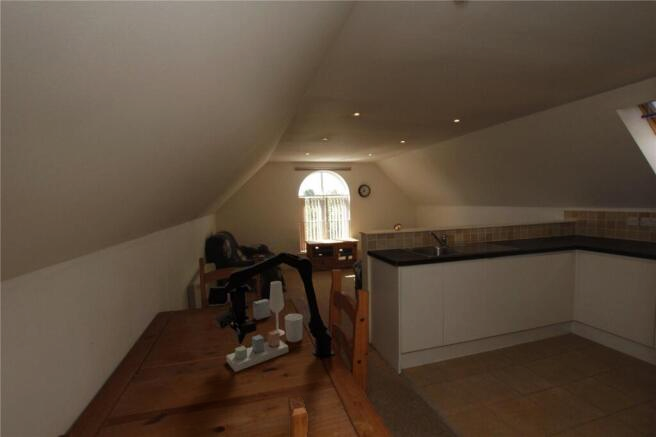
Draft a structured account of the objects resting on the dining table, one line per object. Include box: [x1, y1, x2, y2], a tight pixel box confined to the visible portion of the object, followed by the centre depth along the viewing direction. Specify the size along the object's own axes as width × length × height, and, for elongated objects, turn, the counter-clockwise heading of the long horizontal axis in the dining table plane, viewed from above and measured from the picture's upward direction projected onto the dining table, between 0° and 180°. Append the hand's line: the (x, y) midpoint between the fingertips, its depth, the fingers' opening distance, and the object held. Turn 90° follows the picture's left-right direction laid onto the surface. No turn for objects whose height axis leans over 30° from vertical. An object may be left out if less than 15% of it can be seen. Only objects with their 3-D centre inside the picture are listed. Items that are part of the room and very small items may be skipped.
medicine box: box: [252, 298, 271, 321], centre depth 157 cm, size 8×4×9 cm, turn 133°
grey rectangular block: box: [251, 334, 265, 353], centre depth 116 cm, size 3×3×5 cm
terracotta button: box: [267, 329, 281, 347], centre depth 120 cm, size 3×3×5 cm
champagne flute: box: [269, 280, 286, 337], centre depth 136 cm, size 7×7×24 cm
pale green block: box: [234, 345, 247, 360], centre depth 112 cm, size 3×3×5 cm
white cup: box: [284, 313, 304, 343], centre depth 131 cm, size 8×8×10 cm
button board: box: [226, 339, 289, 373], centre depth 116 cm, size 9×22×2 cm, turn 128°
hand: (240, 343), depth 111 cm, fingers closed
